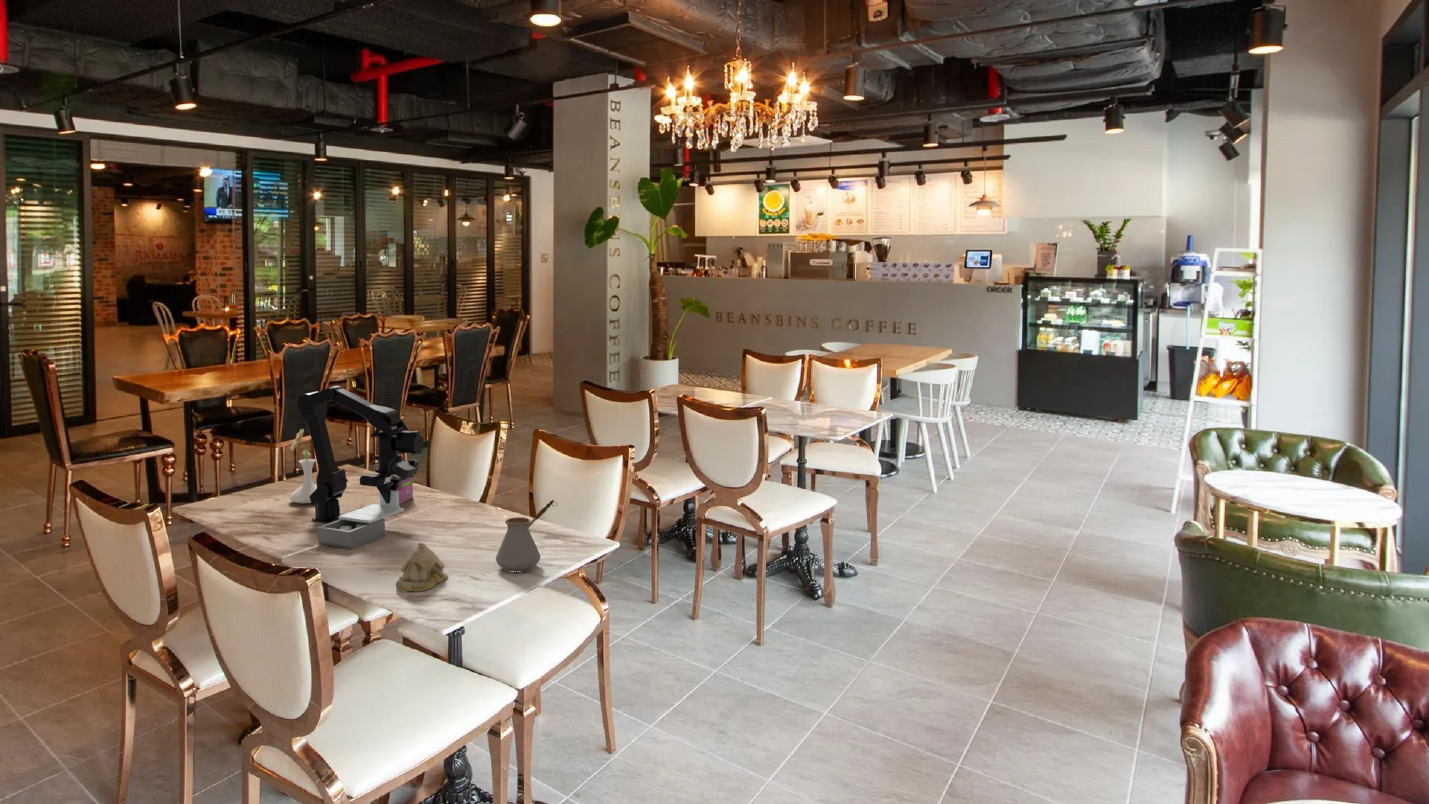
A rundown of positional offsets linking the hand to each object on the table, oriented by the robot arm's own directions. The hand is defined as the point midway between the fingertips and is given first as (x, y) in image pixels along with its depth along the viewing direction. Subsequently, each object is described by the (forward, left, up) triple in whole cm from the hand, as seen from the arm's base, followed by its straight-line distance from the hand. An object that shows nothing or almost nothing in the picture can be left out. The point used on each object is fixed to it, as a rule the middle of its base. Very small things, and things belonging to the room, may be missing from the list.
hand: (389, 502), depth 264 cm
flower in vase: (-41, +10, -7) cm, 43 cm away
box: (-16, +23, -7) cm, 29 cm away
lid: (0, -7, -2) cm, 7 cm away
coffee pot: (+56, -12, -7) cm, 58 cm away
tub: (0, -16, -7) cm, 17 cm away
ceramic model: (+39, -36, -7) cm, 54 cm away
